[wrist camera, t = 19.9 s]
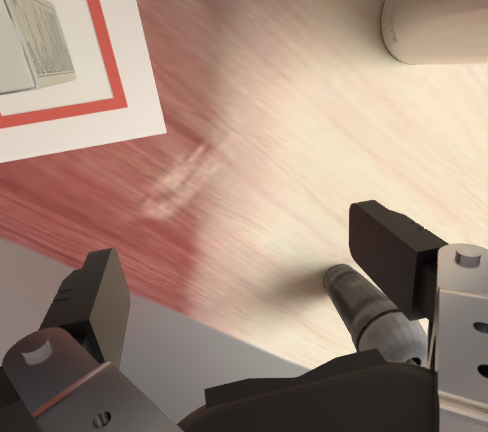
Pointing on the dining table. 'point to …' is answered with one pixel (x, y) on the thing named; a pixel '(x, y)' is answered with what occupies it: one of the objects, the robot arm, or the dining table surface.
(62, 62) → the skincare box
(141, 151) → the dining table surface
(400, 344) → the beverage cup
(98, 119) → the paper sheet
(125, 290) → the robot arm
